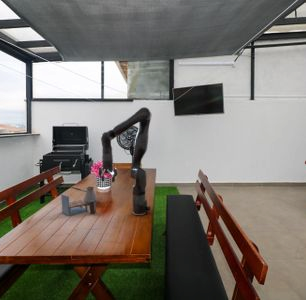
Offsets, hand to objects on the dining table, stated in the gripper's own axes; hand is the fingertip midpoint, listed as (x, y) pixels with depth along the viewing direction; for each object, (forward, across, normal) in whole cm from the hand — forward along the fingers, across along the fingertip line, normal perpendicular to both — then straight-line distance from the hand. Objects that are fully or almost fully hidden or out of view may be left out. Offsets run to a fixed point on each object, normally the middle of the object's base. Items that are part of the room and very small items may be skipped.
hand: (108, 181), depth 187 cm
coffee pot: (+22, +29, -10) cm, 38 cm away
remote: (+22, +9, +7) cm, 25 cm away
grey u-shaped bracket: (+22, +24, +8) cm, 34 cm away
